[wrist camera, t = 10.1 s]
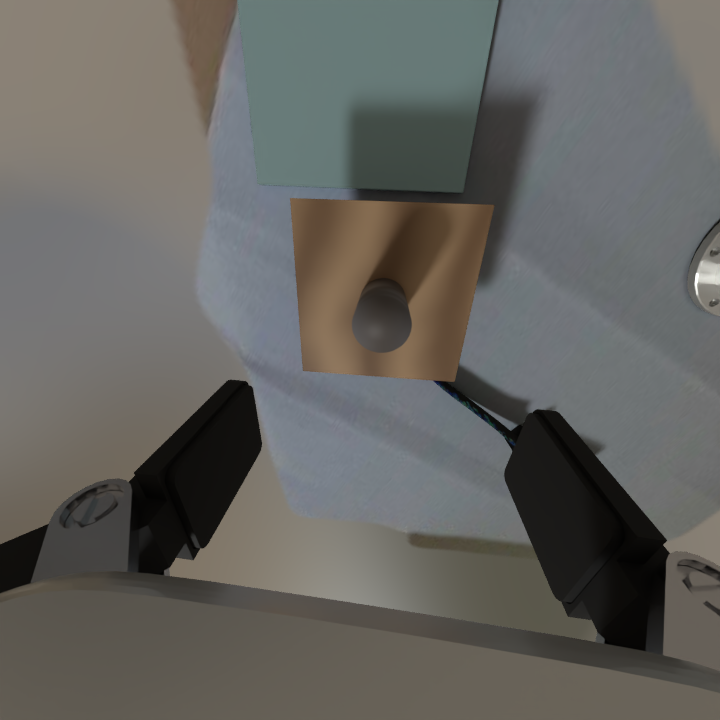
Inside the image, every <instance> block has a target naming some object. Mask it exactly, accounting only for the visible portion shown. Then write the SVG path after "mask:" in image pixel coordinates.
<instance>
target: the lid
mask: <svg viewBox="0 0 720 720" xmlns="http://www.w3.org/2000/svg"><path fill="white" fill-rule="evenodd" d="M290 201H291V215H292V228H293V242H294V256H295V269H296V283H297V296H298V310H299V324H300V337H301V351H302V364H303V371H311V372H325V373H338V374H352V375H366V376H380V377H393V378H407V379H421V380H435V381H448V382H455V378H456V374H457V369H458V365H459V360H460V356H461V352H462V347H463V343H464V338H465V334H466V329H467V325H468V320H469V316H470V312H471V307H472V303H473V298H474V294H475V289H476V285H477V280H478V276H479V272H480V267H481V263H482V258H483V254H484V249H485V245H486V240H487V236H488V232H489V227H490V223H491V218H492V214H493V209H494V205H482V204H451V203H420V202H389V201H359V200H328V199H297V198H290Z"/></svg>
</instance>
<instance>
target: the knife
mask: <svg viewBox="0 0 720 720" xmlns="http://www.w3.org/2000/svg"><path fill="white" fill-rule="evenodd" d="M433 381H434V382H435V383H436V384H437V385H439V386H440V387H441V388H442V389H443V390H445V391H446V392H447V393H448V394H450V395H451V396H452V397H454V398H455V399H456V400H457V401H459V402H460V403H462V404H463V405H464V406H466V407H467V408H468V409H470V410H471V411H472V412H474V413H475V414H476V415H478V416H479V417H480V418H481V419H483V420H484V421H485V422H487V423H488V424H489V425H491V426H492V427H493V428H494V429H496V430H497V431H498V432H499V433H500V434H501V435H503V436H504V437H505V440H506V441H507V443H508V444H509V446H510V447H511V449H512V451H513V449H514V447H515V444H516V442H517V439H518V437H519V435H520V432H521V430H522V427H523V426H521V425H520V426H518V427H517V428H516V429H514V430H513V431H510V430H509V429H508V428H506V427H505V426H504V425H503V424H501V423H500V422H499V421H498V420H496V419H495V418H494V417H492V416H491V415H490V414H488V413H487V412H486V411H484V410H483V409H482V408H481V407H479V406H478V405H477V404H475V403H474V402H473V401H471V400H470V399H469V398H467V397H466V396H465V395H463V394H462V393H461V392H459V391H458V390H457V389H455V388H454V387H452V386H451V385H450V384H448V383H447V382H445V381H435V380H433Z"/></svg>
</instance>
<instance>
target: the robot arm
mask: <svg viewBox="0 0 720 720" xmlns="http://www.w3.org/2000/svg"><path fill="white" fill-rule="evenodd" d="M687 281H688V291H689V294H690V298H691V299H692V300H693V302H694V303H695V305H696V306H698V307H699V308H700V309H702V310H703V311H705V312H708V313H710V314H713V315H717V316H720V222H719V223H718V224H717V225H716V226H715V227H714V228H713V229H712V231H711V232H710V233H709V234H708V236H707V237H706V238H705V239H704V240H703V242H702V244H701V245H700V247H699V249H698V250H697V252H696V253H695V256H694V258H693V260H692V263H691V265H690V268H689V273H688V278H687ZM261 447H262V441H261V435H260V429H259V423H258V417H257V410H256V404H255V398H254V392H253V388H252V386H249V385H248V383H247V382H246V381H239V380H228V381H227V382H226V383H225V384H224V385H223V386H222V387H221V388H220V389H219V390H217V391H216V393H214V394H213V395H212V396H211V397H210V398H209V399H208V400H207V401H206V402H205V403H204V404H203V405H202V406H201V407H200V408H199V409H198V410H197V411H196V412H195V413H194V414H193V415H192V416H191V417H190V418H189V419H188V420H187V421H186V422H185V423H184V424H183V425H182V426H181V427H180V428H179V429H178V430H177V431H176V432H175V433H174V434H173V435H172V436H171V437H170V438H169V439H168V440H167V441H166V442H165V443H164V444H163V445H162V446H161V447H159V448H158V449H157V451H155V452H154V453H153V454H152V455H151V456H150V457H149V458H148V459H147V460H146V461H145V462H144V463H143V464H142V465H141V466H140V467H139V468H138V469H137V470H136V471H135V472H134V474H135V476H134V477H133V478H132V479H131V480H130V481H129V482H127V481H126V480H123V479H107V480H104V481H100V482H96V483H94V484H92V485H90V486H87V487H85V488H84V489H82V490H80V491H78V492H76V493H75V494H73V495H72V496H71V497H69V498H68V499H67V500H66V501H64V502H63V503H62V504H61V505H60V506H59V508H58V509H57V510H56V511H55V512H54V514H53V516H52V518H51V520H50V522H49V524H48V525H45V526H43V527H40V528H38V529H35V530H33V531H31V532H29V533H26V534H24V535H21V536H19V537H17V538H14V539H12V540H9V541H7V542H5V543H3V544H0V720H720V566H718V565H716V564H715V563H713V562H711V561H709V560H706V559H704V558H702V557H700V556H698V555H695V554H691V553H688V552H678V551H676V552H674V553H671V554H670V553H669V552H668V551H667V549H666V548H665V547H664V546H663V544H664V543H665V542H666V541H667V540H666V538H665V537H664V536H663V535H662V534H661V533H660V531H659V530H658V529H657V528H656V527H655V526H654V524H653V523H652V522H651V521H650V520H649V518H648V517H647V516H646V515H645V514H644V513H643V511H642V510H641V509H640V508H639V507H638V505H637V504H636V503H635V502H634V501H633V500H632V498H631V497H630V496H629V495H628V494H627V492H626V491H625V490H624V489H623V488H622V487H621V485H620V484H619V483H618V482H617V481H616V479H615V478H614V477H613V476H612V475H611V474H610V472H609V471H608V470H607V469H606V468H605V466H604V465H603V464H602V463H601V462H600V461H599V459H598V458H597V457H596V456H595V455H594V453H593V452H592V451H591V450H590V449H589V448H588V446H587V445H586V444H585V443H584V442H583V440H582V439H581V438H580V437H579V436H578V435H577V433H576V432H575V431H574V430H573V429H572V427H571V426H570V425H569V424H568V423H567V422H566V420H565V419H564V418H563V417H562V416H561V414H560V413H558V412H556V411H549V410H539V409H537V410H535V411H534V412H533V413H530V414H528V416H527V418H526V420H525V422H524V425H523V427H522V430H521V432H520V435H519V437H518V439H517V442H516V444H515V447H514V449H513V452H512V454H511V457H510V459H509V461H508V464H507V466H506V469H505V473H504V477H505V481H506V484H507V486H508V489H509V491H510V493H511V496H512V498H513V501H514V503H515V505H516V508H517V510H518V512H519V515H520V517H521V519H522V522H523V524H524V527H525V529H526V531H527V534H528V536H529V538H530V541H531V543H532V545H533V548H534V550H535V553H536V555H537V557H538V560H539V562H540V564H541V567H542V569H543V571H544V574H545V576H546V578H547V581H548V583H549V586H550V588H551V590H552V592H553V594H554V596H555V597H556V599H558V600H559V601H561V602H562V604H563V606H564V608H565V611H566V613H567V615H568V617H575V618H581V619H588V620H591V619H592V621H593V623H594V625H595V627H596V629H597V637H596V642H591V641H586V640H581V639H575V638H569V637H564V636H558V635H551V634H545V633H539V632H533V631H526V630H521V629H514V628H508V627H502V626H495V625H489V624H483V623H477V622H471V621H465V620H458V619H452V618H446V617H440V616H433V615H426V614H420V613H414V612H408V611H401V610H394V609H388V608H382V607H376V606H369V605H363V604H356V603H350V602H343V601H337V600H330V599H324V598H317V597H311V596H304V595H297V594H291V593H284V592H278V591H271V590H264V589H258V588H251V587H244V586H237V585H231V584H224V583H217V582H211V581H202V580H195V579H187V578H179V577H172V576H170V572H169V568H170V566H171V565H172V563H173V562H174V560H175V558H182V559H190V560H194V558H195V557H196V555H197V553H198V551H199V550H200V548H204V547H206V546H207V544H208V543H209V541H210V539H211V538H212V536H213V534H214V532H215V531H216V529H217V527H218V525H219V524H220V522H221V520H222V518H223V517H224V515H225V513H226V511H227V510H228V508H229V506H230V504H231V502H232V501H233V499H234V497H235V495H236V494H237V492H238V490H239V488H240V486H241V485H242V483H243V481H244V479H245V478H246V476H247V474H248V472H249V471H250V469H251V467H252V465H253V464H254V462H255V460H256V458H257V457H258V455H259V453H260V451H261Z"/></svg>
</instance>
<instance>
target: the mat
mask: <svg viewBox="0 0 720 720" xmlns="http://www.w3.org/2000/svg"><path fill="white" fill-rule="evenodd" d="M237 1H238V10H239V19H240V28H241V37H242V46H243V55H244V64H245V73H246V83H247V92H248V101H249V110H250V119H251V128H252V137H253V146H254V155H255V164H256V173H257V183H258V184H260V185H274V186H298V187H322V188H346V189H370V190H394V191H417V192H441V193H463V191H464V185H465V180H466V174H467V169H468V163H469V158H470V153H471V147H472V142H473V136H474V131H475V126H476V120H477V115H478V109H479V104H480V98H481V93H482V88H483V82H484V77H485V71H486V66H487V61H488V55H489V50H490V44H491V39H492V34H493V28H494V23H495V17H496V12H497V6H498V1H499V0H237Z"/></svg>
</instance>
